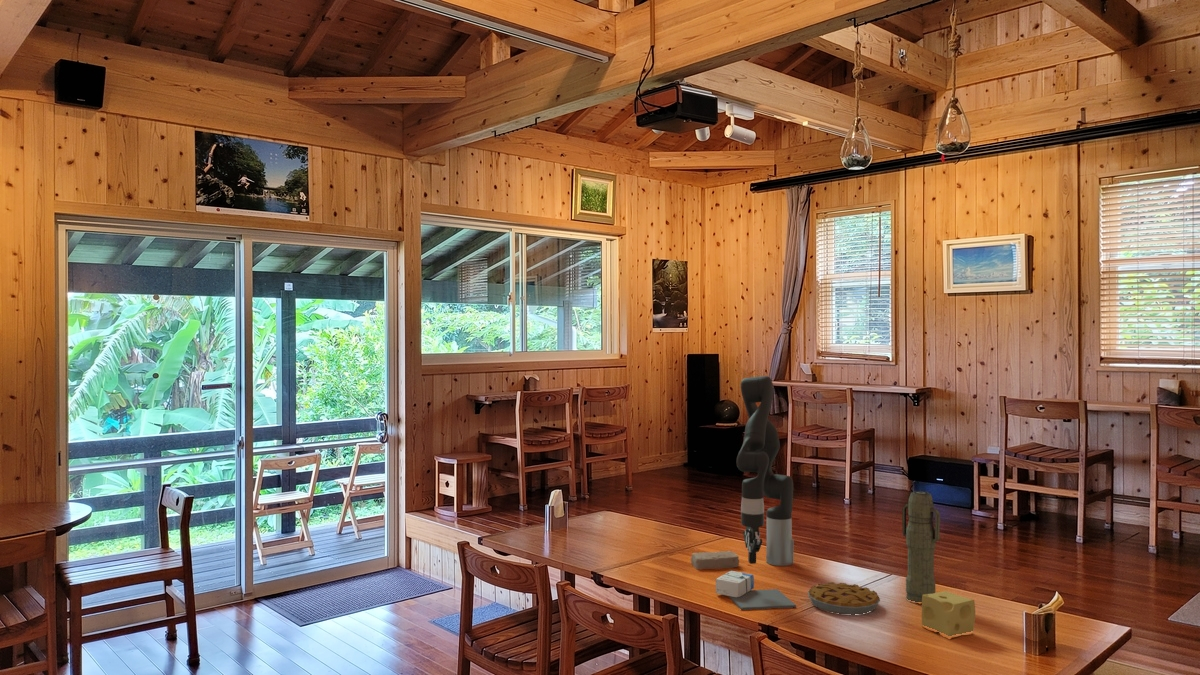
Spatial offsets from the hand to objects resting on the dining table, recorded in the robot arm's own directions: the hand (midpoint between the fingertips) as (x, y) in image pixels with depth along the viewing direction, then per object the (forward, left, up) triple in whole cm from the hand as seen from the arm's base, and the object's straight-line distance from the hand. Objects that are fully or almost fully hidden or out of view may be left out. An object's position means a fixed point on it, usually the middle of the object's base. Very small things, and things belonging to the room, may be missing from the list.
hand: (752, 562), depth 261 cm
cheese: (-45, +40, -10) cm, 61 cm away
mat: (0, +8, -10) cm, 12 cm away
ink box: (+2, -5, -7) cm, 8 cm away
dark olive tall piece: (-52, +14, -10) cm, 55 cm away
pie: (-25, +15, -10) cm, 31 cm away
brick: (+3, -33, -11) cm, 35 cm away
